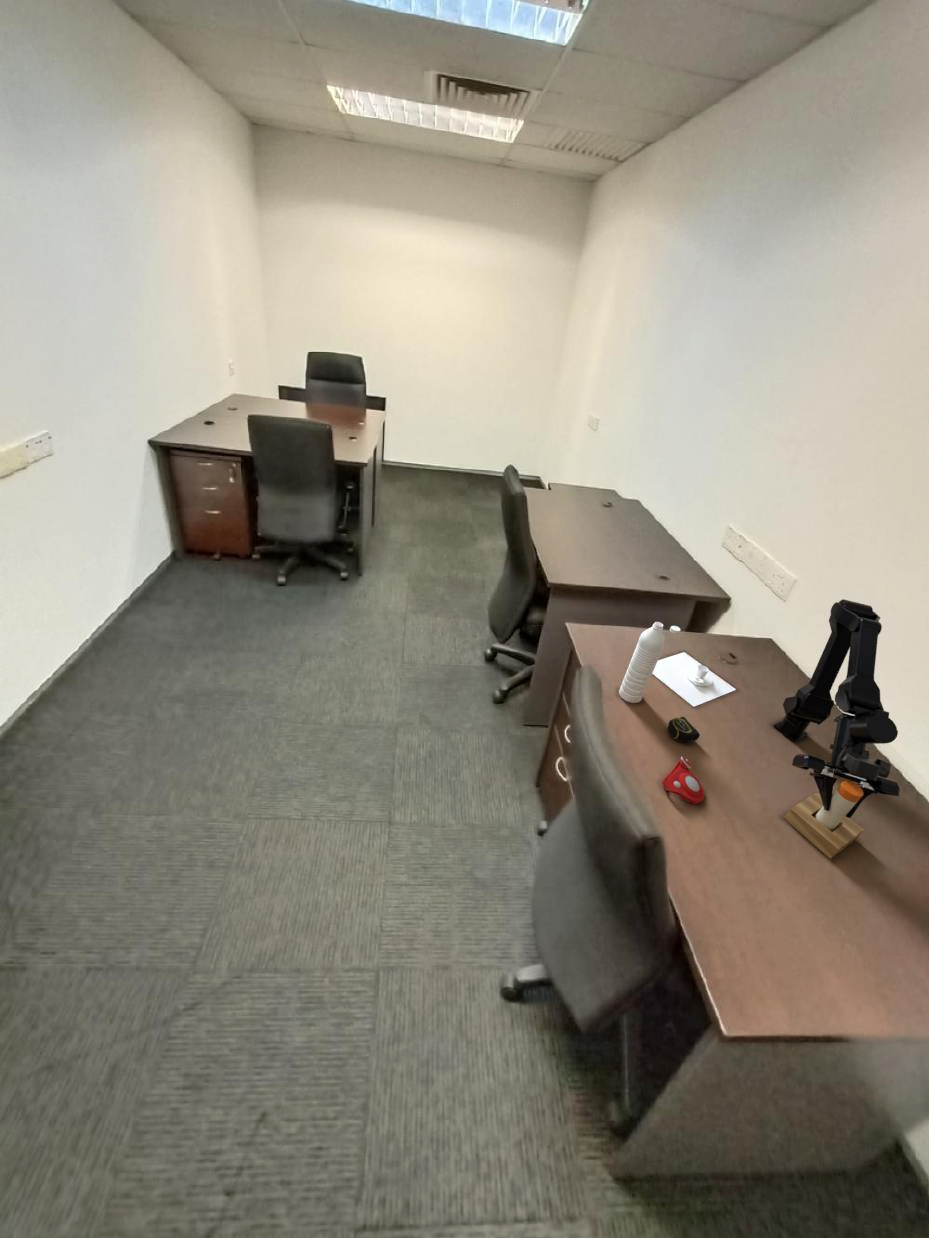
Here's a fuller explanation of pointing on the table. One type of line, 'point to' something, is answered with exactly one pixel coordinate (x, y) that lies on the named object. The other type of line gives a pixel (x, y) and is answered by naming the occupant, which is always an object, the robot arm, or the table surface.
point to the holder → (822, 827)
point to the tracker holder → (684, 783)
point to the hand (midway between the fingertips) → (837, 813)
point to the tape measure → (682, 730)
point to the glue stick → (840, 804)
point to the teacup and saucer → (690, 679)
